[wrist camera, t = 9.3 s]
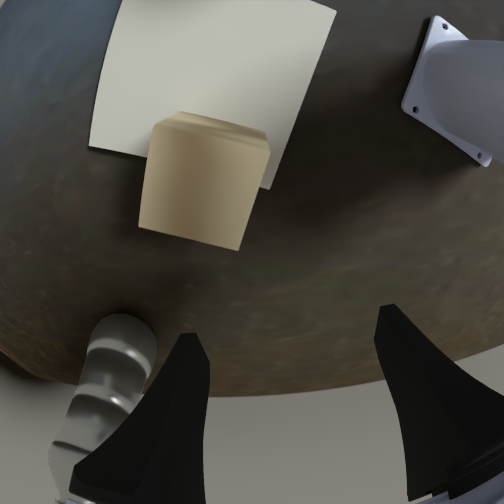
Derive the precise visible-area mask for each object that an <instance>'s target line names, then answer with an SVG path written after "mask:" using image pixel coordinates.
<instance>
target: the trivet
mask: <svg viewBox="0 0 504 504" xmlns="http://www.w3.org/2000/svg"><path fill="white" fill-rule="evenodd" d="M336 12H337V11H335V10H333V9H330V8H328V7H326V6H323V5H321V4H318V3H315V2H313V1H310V0H123V1H122V4H121V6H120V9H119V12H118V15H117V18H116V21H115V24H114V27H113V31H112V34H111V37H110V41H109V44H108V48H107V52H106V56H105V59H104V63H103V68H102V72H101V76H100V81H99V86H98V91H97V96H96V101H95V107H94V113H93V119H92V126H91V133H90V141H89V146H93V147H99V148H104V149H109V150H114V151H119V152H124V153H128V154H133V155H138V156H142V157H147V158H148V152H149V147H150V141H151V136H152V131H153V126H154V124H156V123H158V122H160V121H161V120H163V119H165V118H167V117H169V116H171V115H173V114H175V113H177V112H179V111H183V112H187V113H192V114H197V115H201V116H206V117H210V118H214V119H219V120H223V121H227V122H231V123H234V124H238V125H242V126H246V127H249V128H253V129H257V130H260V131H263V132H265V135H266V138H267V142H268V145H269V149H270V156H269V159H268V162H267V165H266V168H265V171H264V174H263V177H262V180H261V183H260V186H259V187H261V188H265V189H268V190H270V187H271V185H272V182H273V179H274V177H275V174H276V171H277V169H278V166H279V163H280V160H281V158H282V155H283V152H284V150H285V147H286V144H287V142H288V139H289V136H290V134H291V131H292V128H293V126H294V123H295V120H296V118H297V115H298V112H299V110H300V107H301V104H302V102H303V99H304V96H305V94H306V91H307V88H308V86H309V83H310V81H311V78H312V75H313V73H314V70H315V67H316V65H317V62H318V59H319V57H320V54H321V51H322V49H323V46H324V44H325V41H326V38H327V36H328V33H329V30H330V28H331V25H332V23H333V20H334V17H335V15H336Z"/></svg>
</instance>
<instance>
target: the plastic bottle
mask: <svg viewBox="0 0 504 504" xmlns="http://www.w3.org/2000/svg"><path fill="white" fill-rule="evenodd" d="M156 352H157V342H156V339H155V337H154V334H153V332H152V330H151V329H150V328H149V326H148V325H146V324H145V323H144V322H143V321H141V320H140V319H138V318H136V317H134V316H131V315H128V314H123V313H115V314H111V315H109V316H106V317H104V318H103V319H101V320H100V321H99V323H98V324H97V325H96V327H95V328H94V330H93V331H92V333H91V337H90V340H89V344H88V349H87V357H86V360H85V363H84V366H83V370H82V373H81V377H80V380H79V384H78V387H77V389H76V392H75V394H74V398H73V399H72V401H71V404H70V406H69V409H68V411H67V414H66V415H65V417H64V419H63V421H62V423H61V425H60V427H59V429H58V432H57V433H56V435H55V437H54V441H53V442H52V443H51V446H50V449H49V452H48V460H49V467H50V470H51V473H52V476H53V479H54V481H55V483H56V485H57V488H58V490H59V492H60V500H59V501H58V500H55V504H66V502H67V499H68V498H69V499H72V500H74V501H77V502H80V503H82V504H95V503H94V502H91V501H88V500H86V499H83V498H81V497H78V496H76V495H74V494H71V493H70V492H69V485H70V481H71V476H72V472H73V468H74V465H75V464H77V463H78V462H79V461H81V460H82V459H83V458H85V457H86V456H87V455H89V454H90V453H91V452H93V451H94V450H95V449H96V448H97V447H98V446H100V445H101V444H102V443H103V442H104V441H105V440H106V439H107V438H108V437H109V436H110V435H111V434H112V433H113V432H114V431H115V430H116V429H117V428H118V427H119V426H120V425H121V424H122V423H123V421H124V420H125V419H126V418H127V417H128V416H129V415H130V413H131V412H132V411H133V410H134V408H135V407H136V406H137V404H138V403H139V400H140V397H141V394H142V391H143V388H144V385H145V382H146V380H147V379H148V377H149V375H150V373H151V370H152V368H153V366H154V363H155V361H156Z"/></svg>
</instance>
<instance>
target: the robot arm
mask: <svg viewBox="0 0 504 504" xmlns="http://www.w3.org/2000/svg"><path fill="white" fill-rule="evenodd" d="M442 24H443V25H444V26H445V29H444V28H443V26H442ZM414 106H415V107H416V112H415V113H414V112H413V107H414ZM401 108H402V110H403V111H404V112H405V113H407V114H409V115H411V116H412V117H414V118H416V119H417V120H419V121H420V122H422V123H424V124H425V125H427V126H428V127H430V128H431V129H433V130H434V131H436V132H437V133H439V134H440V135H442V136H443V137H445V138H446V139H448V140H449V141H451V142H452V143H453V144H455V145H456V146H457V147H459V148H460V149H462V150H463V151H464V152H466V153H467V154H468V155H470V156H471V157H472V158H473V159H475V160H476V161H477V162H478V163H480V164H481V165H482V166H484V167H487V166H488V165H489V164H490V161H491V159H492V158H494V159H495V160H497V161H499V162H501V163H502V164H504V41H490V40H469V39H467V38H466V37H465V36H464V35H463V34H462V33H460V32H459V31H458V30H457V29H455V28H454V27H453V26H452V25H450V24H449V23H448V22H447V21H445V20H444V19H443V18H441V17H440V16H433V17H432V18H431V21H430V24H429V27H428V30H427V34H426V37H425V40H424V43H423V46H422V49H421V52H420V54H419V57H418V60H417V63H416V66H415V68H414V71H413V74H412V77H411V79H410V82H409V85H408V87H407V90H406V92H405V95H404V97H403V100H402V103H401ZM478 153H479V156H478ZM374 342H375V346H376V351H377V354H378V358H379V362H380V365H381V368H382V370H383V373H384V376H385V379H386V381H387V384H388V387H389V389H390V392H391V395H392V398H393V401H394V404H395V406H396V410H397V414H398V418H399V422H400V428H401V433H402V439H403V446H404V453H405V462H406V472H407V473H406V474H407V496H408V501H409V502H410V501H413V500H416V499H418V498H421V497H424V496H426V495H429V494H431V493H432V496H433V497H432V498H430V499H427V500H425V501H423V502H420V503H417V504H504V396H503V395H501V394H499V393H498V392H496V391H494V390H492V389H490V388H489V387H487V386H486V385H484V384H483V383H481V382H479V381H478V380H476V379H475V378H473V377H472V376H471V375H469V374H468V373H467V372H465V371H464V370H463V369H461V368H460V367H459V366H458V365H456V364H455V363H454V362H453V361H452V360H450V359H449V358H448V357H447V356H446V355H445V354H444V353H443V352H441V351H440V350H439V349H438V348H437V347H436V346H435V345H434V344H433V343H432V342H431V341H430V340H429V339H428V338H427V337H426V336H425V335H424V334H423V333H422V332H421V331H420V330H419V329H418V328H417V327H416V326H415V325H414V324H413V323H412V322H411V321H410V320H409V319H408V317H407V316H406V315H405V314H404V313H403V312H402V311H401V310H400V309H399V308H398V307H397V306H396V305H395V304H390V305H385V306H380V310H379V316H378V321H377V326H376V332H375V336H374ZM209 386H210V362H209V360H208V358H207V356H206V354H205V352H204V349H203V347H202V345H201V343H200V341H199V339H198V336H197V334H196V333H184V334H181V335H180V336H179V338H178V340H177V341H176V343H175V345H174V347H173V349H172V350H171V352H170V354H169V356H168V358H167V359H166V361H165V363H164V365H163V366H162V368H161V370H160V371H159V373H158V375H157V376H156V378H155V379H154V381H153V383H152V384H151V386H150V387H149V389H148V390H147V392H146V393H145V395H144V396H143V398H142V399H141V400H140V402H139V403H138V404H137V406H136V407H135V408H134V410H133V411H132V412H131V413H130V415H129V416H128V417H127V418H126V419H125V420H124V421H123V423H122V424H121V425H120V426H119V427H118V428H117V429H116V430H115V431H114V432H113V433H112V434H111V435H110V436H109V437H108V438H107V439H106V440H105V441H104V442H103V443H102V444H101V445H100V446H98V447H97V448H96V449H95V450H94V451H93V452H91V453H90V454H89V455H87V456H86V457H85V458H83V459H82V460H81V461H79V462H78V463H77V464H75V465H74V468H73V472H72V476H71V481H70V485H69V492H70V493H71V494H74V495H76V496H78V497H81V498H83V499H86V500H88V501H91V502H94V503H95V504H206V500H205V490H204V473H203V435H204V426H205V418H206V410H207V402H208V394H209ZM66 504H82V503H80V502H77V501H74V500H72V499H69V498H68V499H67V502H66Z"/></svg>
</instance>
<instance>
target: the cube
mask: <svg viewBox="0 0 504 504" xmlns="http://www.w3.org/2000/svg"><path fill="white" fill-rule="evenodd" d="M269 156H270V149H269V145H268V142H267V138H266V135H265V132H263V131H260V130H257V129H253V128H249V127H246V126H242V125H238V124H234V123H231V122H227V121H223V120H219V119H214V118H210V117H206V116H201V115H197V114H192V113H187V112H183V111H179V112H177V113H175V114H173V115H171V116H169V117H167V118H165V119H163V120H161V121H160V122H158V123H156V124H154V126H153V131H152V136H151V141H150V147H149V152H148V158H147V164H146V170H145V177H144V184H143V191H142V199H141V207H140V216H139V225H138V227H142V228H146V229H150V230H154V231H158V232H162V233H166V234H170V235H175V236H179V237H183V238H187V239H191V240H195V241H199V242H203V243H207V244H212V245H216V246H220V247H224V248H228V249H232V250H236V251H238V250H239V247H240V244H241V241H242V238H243V235H244V232H245V228H246V225H247V222H248V219H249V216H250V213H251V210H252V207H253V204H254V201H255V198H256V195H257V192H258V189H259V186H260V183H261V180H262V177H263V174H264V171H265V168H266V165H267V162H268V159H269Z"/></svg>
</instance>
